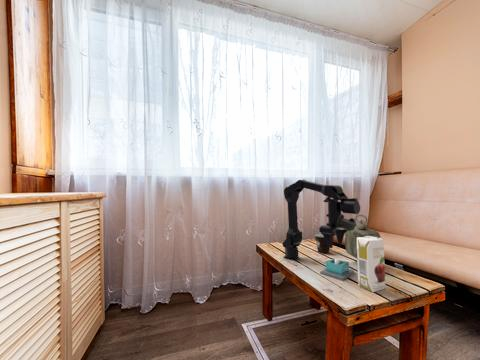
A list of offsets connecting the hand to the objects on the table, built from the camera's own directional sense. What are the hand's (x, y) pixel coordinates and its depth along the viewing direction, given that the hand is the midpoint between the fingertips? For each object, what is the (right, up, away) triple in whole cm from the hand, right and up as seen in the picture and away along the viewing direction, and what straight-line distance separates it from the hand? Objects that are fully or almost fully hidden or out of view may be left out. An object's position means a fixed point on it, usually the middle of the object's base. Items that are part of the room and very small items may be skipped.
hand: (335, 246), depth 98 cm
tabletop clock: (+17, -12, +8) cm, 23 cm away
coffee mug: (+7, -13, +32) cm, 35 cm away
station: (0, -12, -2) cm, 12 cm away
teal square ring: (0, -11, -2) cm, 11 cm away
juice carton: (+7, -11, -16) cm, 21 cm away
